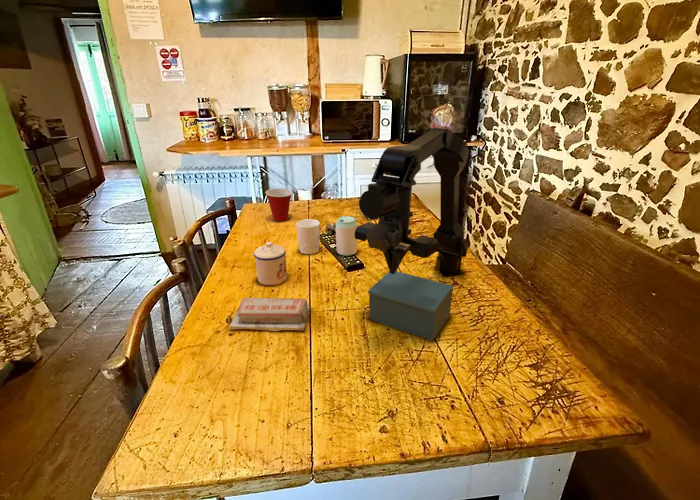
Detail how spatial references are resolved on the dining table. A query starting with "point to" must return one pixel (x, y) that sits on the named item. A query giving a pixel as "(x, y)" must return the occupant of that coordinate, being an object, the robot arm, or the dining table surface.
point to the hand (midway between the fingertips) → (392, 273)
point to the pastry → (331, 228)
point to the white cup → (308, 235)
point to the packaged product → (271, 314)
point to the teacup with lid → (271, 264)
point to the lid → (411, 290)
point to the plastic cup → (279, 203)
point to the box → (409, 316)
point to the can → (346, 236)
